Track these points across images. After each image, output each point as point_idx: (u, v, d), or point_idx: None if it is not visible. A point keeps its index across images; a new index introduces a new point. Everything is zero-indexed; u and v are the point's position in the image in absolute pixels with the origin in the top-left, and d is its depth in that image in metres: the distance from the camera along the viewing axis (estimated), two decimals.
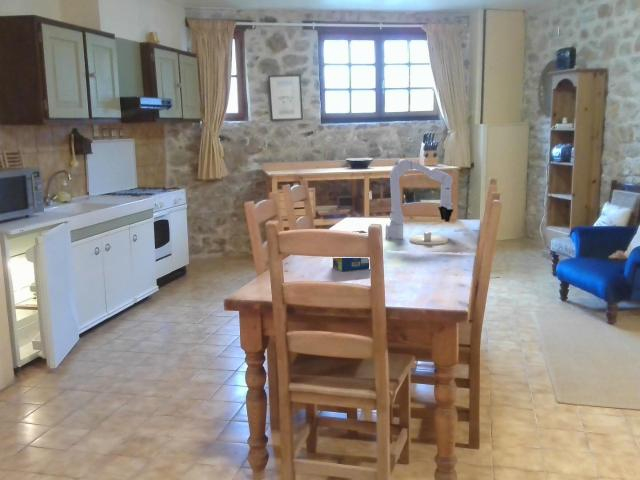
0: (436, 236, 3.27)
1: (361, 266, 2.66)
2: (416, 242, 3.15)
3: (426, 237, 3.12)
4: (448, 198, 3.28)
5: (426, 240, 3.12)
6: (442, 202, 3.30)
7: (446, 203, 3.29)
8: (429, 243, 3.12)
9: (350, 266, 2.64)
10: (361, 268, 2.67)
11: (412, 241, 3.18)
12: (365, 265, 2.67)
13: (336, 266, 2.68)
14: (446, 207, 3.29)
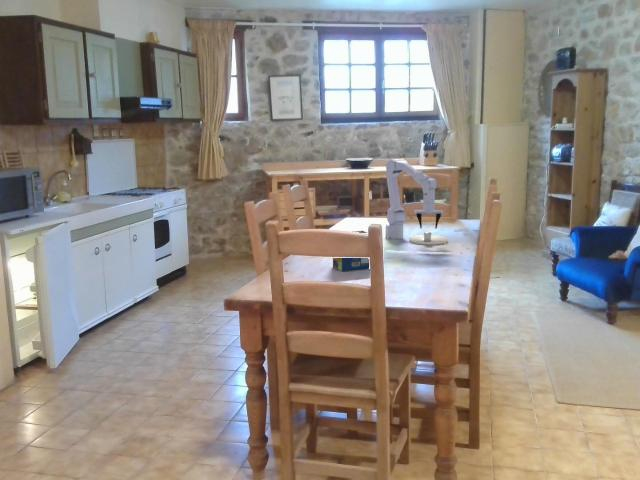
0: (436, 236, 3.27)
1: (361, 266, 2.66)
2: (416, 242, 3.15)
3: (426, 237, 3.12)
4: (423, 204, 3.11)
5: (426, 240, 3.12)
6: None
7: None
8: (429, 243, 3.12)
9: (350, 266, 2.64)
10: (361, 268, 2.67)
11: (412, 241, 3.18)
12: (365, 265, 2.67)
13: (336, 266, 2.68)
14: None
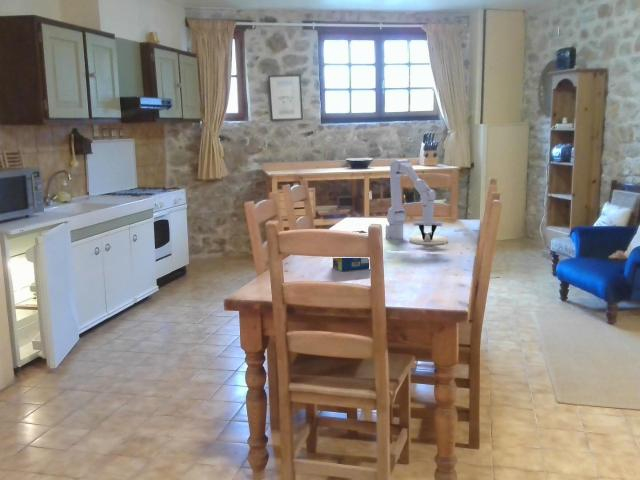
0: (436, 236, 3.27)
1: (361, 266, 2.66)
2: (416, 242, 3.15)
3: (426, 237, 3.12)
4: (422, 215, 3.11)
5: (426, 240, 3.12)
6: None
7: None
8: (429, 243, 3.12)
9: (350, 266, 2.64)
10: (361, 268, 2.67)
11: (412, 241, 3.18)
12: (365, 265, 2.67)
13: (336, 266, 2.68)
14: None
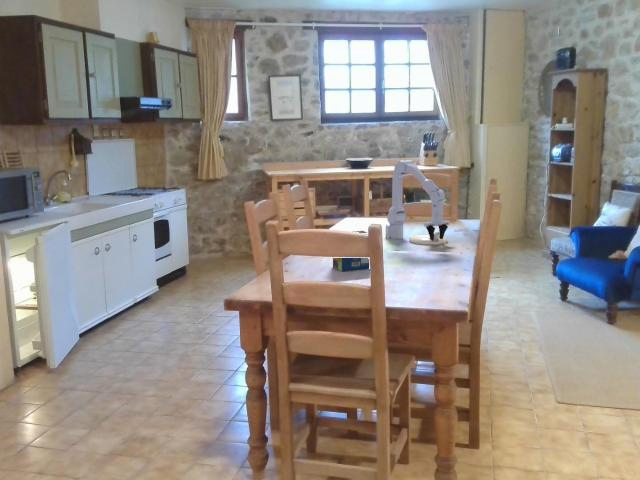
0: None
1: (361, 266, 2.66)
2: (425, 243, 3.12)
3: (435, 237, 3.12)
4: (433, 216, 3.10)
5: (435, 240, 3.12)
6: None
7: (432, 220, 3.12)
8: (438, 243, 3.13)
9: (350, 266, 2.64)
10: (361, 268, 2.67)
11: (419, 242, 3.14)
12: (365, 265, 2.67)
13: (336, 266, 2.68)
14: None
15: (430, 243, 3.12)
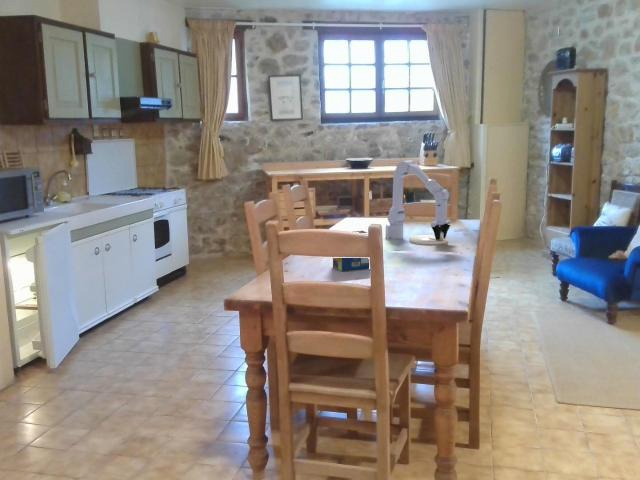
0: (424, 235, 3.29)
1: (361, 266, 2.66)
2: (432, 243, 3.12)
3: (441, 236, 3.13)
4: (439, 215, 3.11)
5: (441, 239, 3.14)
6: (435, 219, 3.14)
7: (437, 220, 3.12)
8: (444, 242, 3.15)
9: (350, 266, 2.64)
10: (361, 268, 2.67)
11: (426, 243, 3.12)
12: (365, 265, 2.67)
13: (336, 266, 2.68)
14: None
15: (437, 243, 3.12)
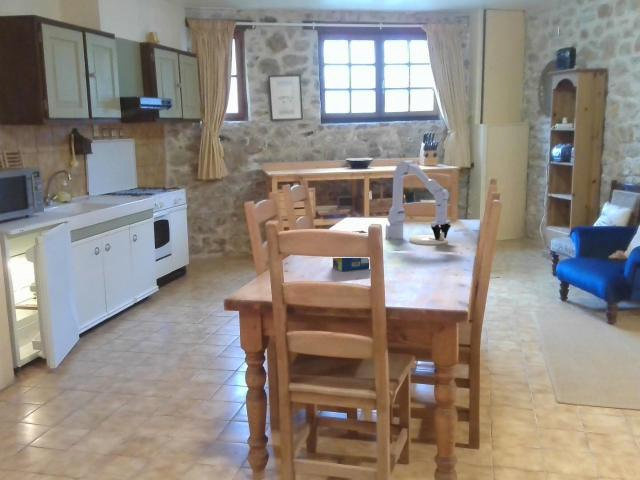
0: (423, 235, 3.29)
1: (361, 266, 2.66)
2: (434, 243, 3.12)
3: (442, 236, 3.14)
4: (439, 215, 3.11)
5: (442, 239, 3.14)
6: (436, 219, 3.14)
7: (437, 220, 3.12)
8: (444, 242, 3.15)
9: (350, 266, 2.64)
10: (361, 268, 2.67)
11: (428, 243, 3.12)
12: (365, 265, 2.67)
13: (336, 266, 2.68)
14: None
15: (438, 243, 3.13)
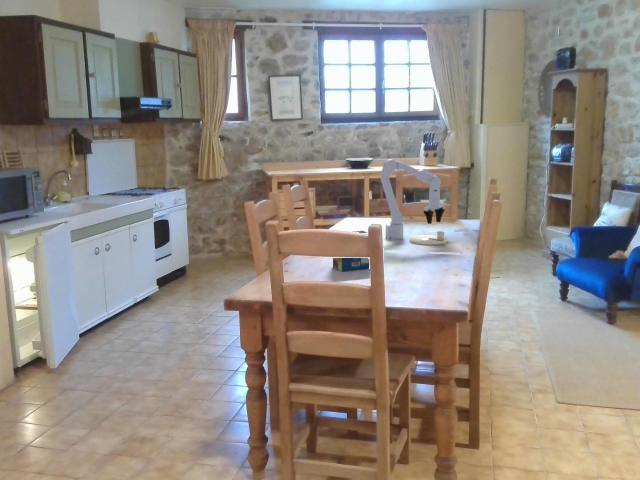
0: (423, 235, 3.29)
1: (361, 266, 2.66)
2: (434, 243, 3.12)
3: (442, 236, 3.14)
4: (432, 200, 3.26)
5: (442, 239, 3.14)
6: (429, 204, 3.29)
7: (430, 205, 3.27)
8: (444, 242, 3.15)
9: (350, 266, 2.64)
10: (361, 268, 2.67)
11: (428, 243, 3.12)
12: (365, 265, 2.67)
13: (336, 266, 2.68)
14: None
15: (438, 243, 3.13)
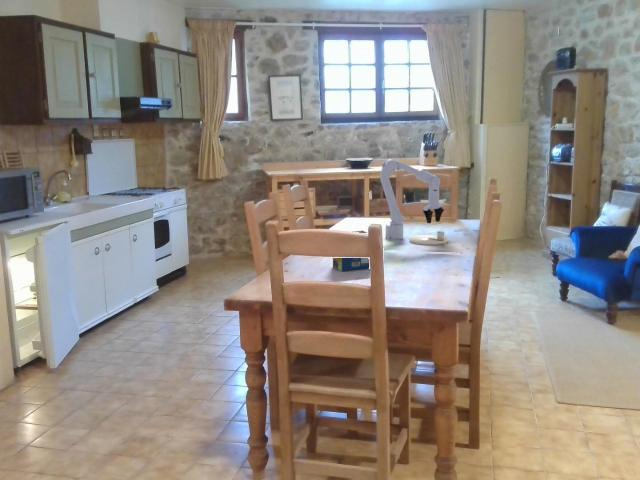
0: (423, 235, 3.29)
1: (361, 266, 2.66)
2: (434, 243, 3.12)
3: (442, 236, 3.14)
4: (431, 200, 3.27)
5: (442, 239, 3.14)
6: None
7: (429, 204, 3.28)
8: (444, 242, 3.15)
9: (350, 266, 2.64)
10: (361, 268, 2.67)
11: (428, 243, 3.12)
12: (365, 265, 2.67)
13: (336, 266, 2.68)
14: None
15: (438, 243, 3.13)
